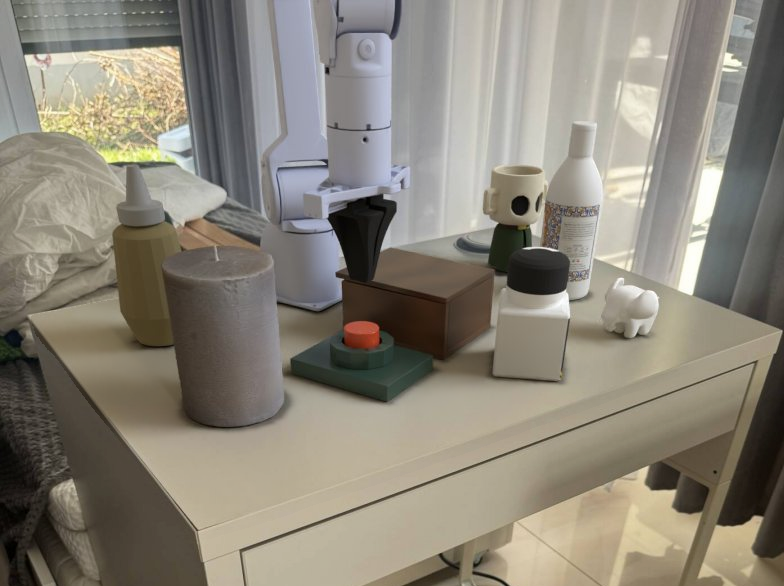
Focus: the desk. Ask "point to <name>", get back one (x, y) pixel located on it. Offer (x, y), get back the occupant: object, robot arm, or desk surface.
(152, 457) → the desk surface
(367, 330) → the button
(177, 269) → the pillar candle
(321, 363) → the button block
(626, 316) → the elephant figurine
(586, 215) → the bath foam
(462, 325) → the box
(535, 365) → the medicine bottle
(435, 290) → the lid
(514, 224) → the character mug
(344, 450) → the desk surface
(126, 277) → the squeeze bottle
